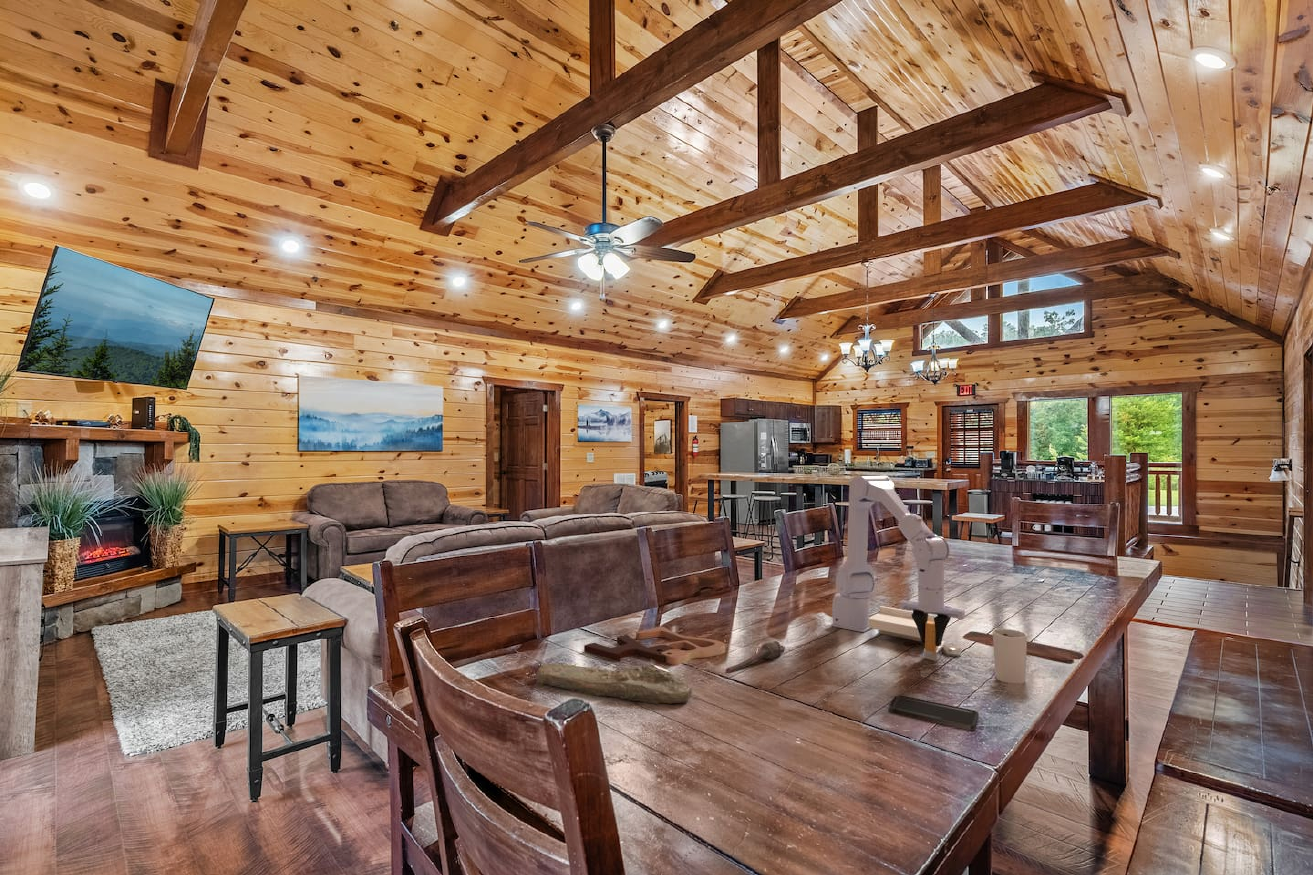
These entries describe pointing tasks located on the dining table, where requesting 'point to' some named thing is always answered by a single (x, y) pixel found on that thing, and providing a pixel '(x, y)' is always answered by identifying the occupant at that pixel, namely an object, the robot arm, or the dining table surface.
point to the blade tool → (931, 643)
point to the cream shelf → (896, 623)
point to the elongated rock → (618, 682)
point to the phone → (934, 712)
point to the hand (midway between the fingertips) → (931, 643)
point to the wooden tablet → (1031, 648)
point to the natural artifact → (761, 655)
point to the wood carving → (659, 647)
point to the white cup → (1010, 655)
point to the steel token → (952, 650)
